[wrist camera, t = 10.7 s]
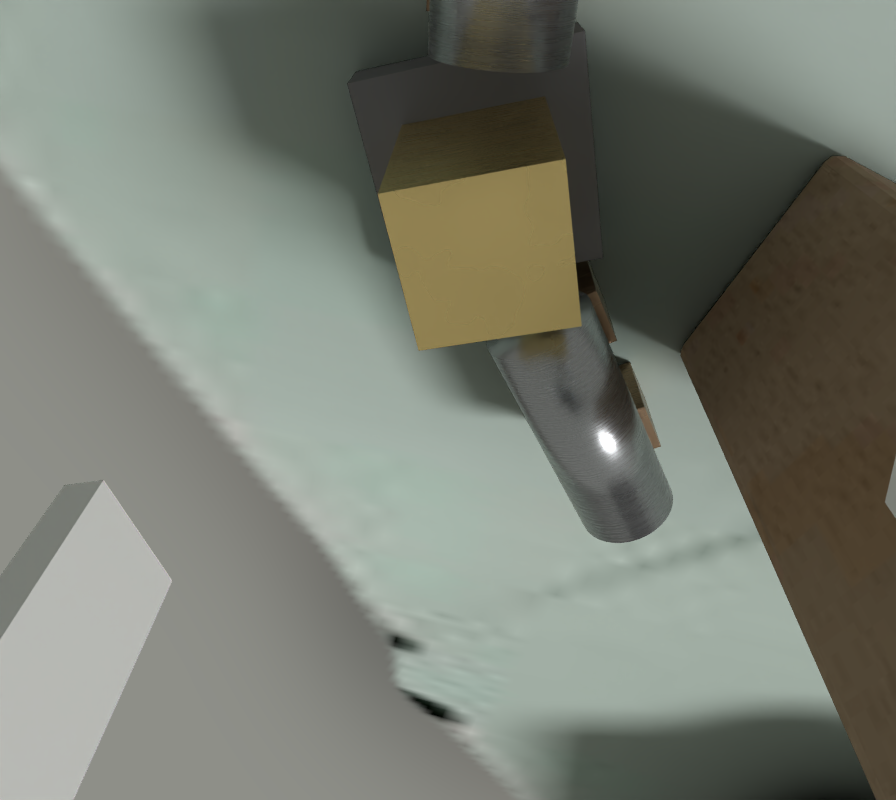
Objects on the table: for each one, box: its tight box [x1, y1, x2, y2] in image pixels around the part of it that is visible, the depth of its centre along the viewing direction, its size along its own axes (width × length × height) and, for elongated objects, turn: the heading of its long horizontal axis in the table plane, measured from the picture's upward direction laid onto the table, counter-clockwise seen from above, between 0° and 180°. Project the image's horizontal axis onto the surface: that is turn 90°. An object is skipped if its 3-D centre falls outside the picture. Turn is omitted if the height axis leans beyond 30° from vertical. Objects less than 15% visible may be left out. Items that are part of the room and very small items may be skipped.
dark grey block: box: [347, 22, 603, 263], centre depth 26 cm, size 8×8×2 cm
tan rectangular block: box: [378, 96, 582, 351], centre depth 22 cm, size 5×5×7 cm
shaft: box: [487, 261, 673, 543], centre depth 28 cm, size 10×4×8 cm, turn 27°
